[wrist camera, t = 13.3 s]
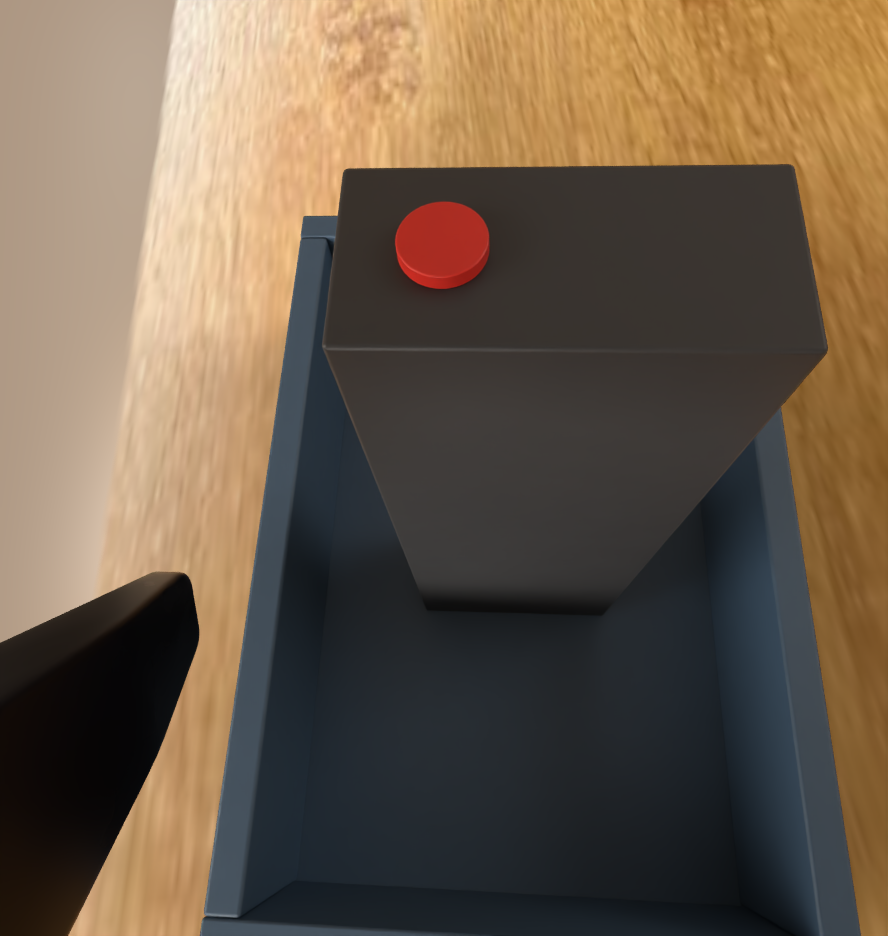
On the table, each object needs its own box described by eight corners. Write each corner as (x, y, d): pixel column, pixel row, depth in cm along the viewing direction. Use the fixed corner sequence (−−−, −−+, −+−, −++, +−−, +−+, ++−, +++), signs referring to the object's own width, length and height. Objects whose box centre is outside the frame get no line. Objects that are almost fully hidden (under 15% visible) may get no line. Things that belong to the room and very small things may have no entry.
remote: (603, 616, 18) (842, 340, 6) (426, 610, 19) (315, 335, 6) (599, 527, 19) (801, 130, 7) (430, 523, 20) (339, 135, 7)
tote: (766, 938, 16) (874, 1008, 12) (271, 908, 17) (194, 963, 12) (698, 321, 22) (752, 212, 18) (338, 319, 23) (302, 215, 18)
